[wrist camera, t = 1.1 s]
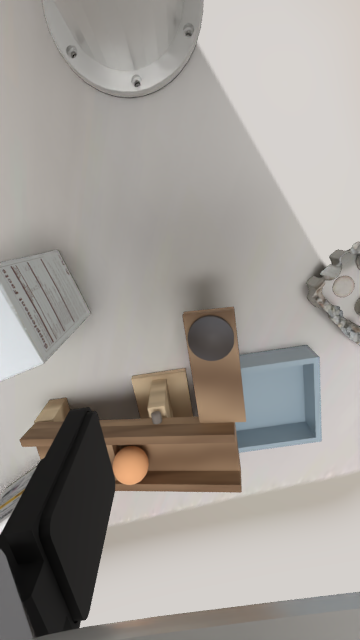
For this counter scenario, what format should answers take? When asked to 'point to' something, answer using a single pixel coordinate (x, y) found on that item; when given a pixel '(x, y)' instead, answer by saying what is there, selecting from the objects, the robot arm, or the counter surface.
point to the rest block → (54, 411)
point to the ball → (130, 465)
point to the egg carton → (338, 289)
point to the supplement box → (36, 311)
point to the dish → (280, 399)
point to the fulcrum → (163, 394)
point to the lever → (184, 418)
